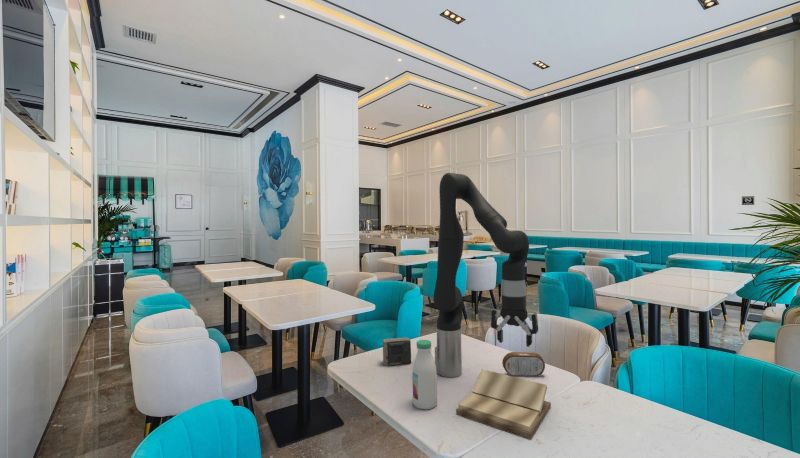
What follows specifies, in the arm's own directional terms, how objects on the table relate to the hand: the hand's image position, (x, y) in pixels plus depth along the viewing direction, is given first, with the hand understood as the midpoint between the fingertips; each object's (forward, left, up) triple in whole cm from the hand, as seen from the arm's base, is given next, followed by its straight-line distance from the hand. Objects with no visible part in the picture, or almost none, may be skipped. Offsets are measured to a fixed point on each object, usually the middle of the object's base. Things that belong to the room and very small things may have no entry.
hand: (514, 343), depth 116 cm
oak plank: (-1, -4, -14) cm, 15 cm away
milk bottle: (-23, -18, -19) cm, 34 cm away
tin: (-4, +20, -19) cm, 27 cm away
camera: (-50, +3, -19) cm, 53 cm away
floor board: (-1, -8, -18) cm, 20 cm away
